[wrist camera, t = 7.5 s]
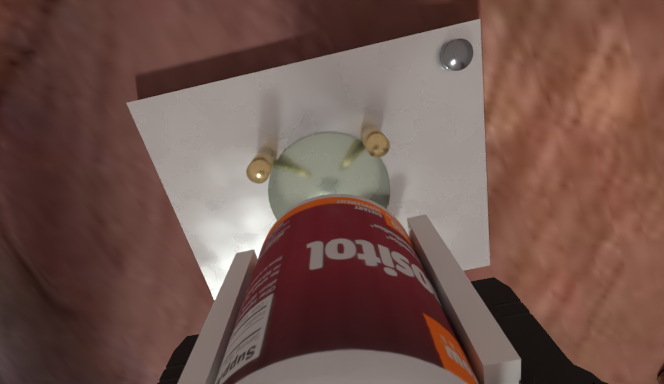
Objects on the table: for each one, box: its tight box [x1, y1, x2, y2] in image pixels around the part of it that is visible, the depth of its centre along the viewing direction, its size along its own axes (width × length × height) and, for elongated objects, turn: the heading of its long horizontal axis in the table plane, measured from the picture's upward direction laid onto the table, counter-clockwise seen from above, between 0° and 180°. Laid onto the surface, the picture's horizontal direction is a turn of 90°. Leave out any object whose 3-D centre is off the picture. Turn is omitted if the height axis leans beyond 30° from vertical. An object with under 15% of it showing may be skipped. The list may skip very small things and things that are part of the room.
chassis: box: [127, 19, 490, 300], centre depth 20 cm, size 20×16×4 cm
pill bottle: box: [215, 194, 479, 384], centre depth 8 cm, size 6×6×11 cm
